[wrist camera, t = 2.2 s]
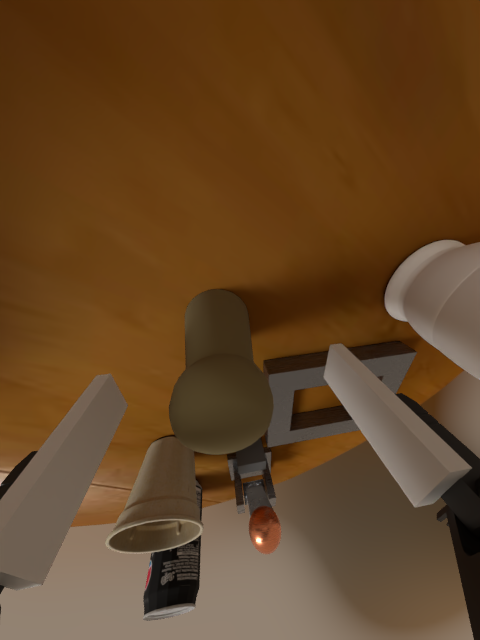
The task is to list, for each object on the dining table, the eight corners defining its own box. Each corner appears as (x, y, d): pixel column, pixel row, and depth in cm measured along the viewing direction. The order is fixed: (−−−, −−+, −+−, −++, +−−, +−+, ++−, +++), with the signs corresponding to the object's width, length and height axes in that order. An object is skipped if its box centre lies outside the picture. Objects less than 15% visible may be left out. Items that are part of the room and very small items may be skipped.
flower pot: (218, 443, 27) (221, 527, 20) (176, 470, 30) (164, 556, 22) (167, 419, 23) (146, 513, 16) (122, 453, 25) (84, 551, 18)
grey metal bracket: (231, 474, 33) (234, 519, 28) (227, 454, 29) (230, 501, 24) (269, 467, 33) (279, 509, 28) (269, 446, 30) (281, 490, 25)
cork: (259, 305, 17) (319, 408, 8) (230, 352, 20) (249, 477, 10) (200, 277, 15) (183, 369, 6) (175, 332, 18) (132, 466, 8)
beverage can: (175, 497, 34) (159, 621, 23) (155, 484, 31) (126, 621, 20) (208, 486, 34) (207, 606, 23) (191, 472, 30) (181, 604, 20)
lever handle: (261, 475, 30) (265, 500, 28) (242, 479, 29) (245, 504, 28) (280, 508, 17) (289, 557, 15) (246, 516, 17) (252, 567, 15)
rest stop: (236, 450, 29) (238, 474, 26) (234, 441, 28) (237, 466, 25) (260, 445, 29) (265, 469, 27) (260, 437, 28) (266, 460, 25)
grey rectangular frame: (263, 431, 28) (267, 447, 26) (263, 360, 21) (268, 374, 19) (368, 412, 29) (379, 426, 27) (399, 340, 22) (416, 352, 20)
